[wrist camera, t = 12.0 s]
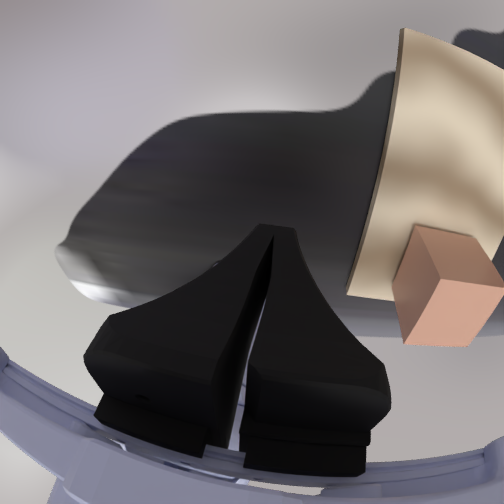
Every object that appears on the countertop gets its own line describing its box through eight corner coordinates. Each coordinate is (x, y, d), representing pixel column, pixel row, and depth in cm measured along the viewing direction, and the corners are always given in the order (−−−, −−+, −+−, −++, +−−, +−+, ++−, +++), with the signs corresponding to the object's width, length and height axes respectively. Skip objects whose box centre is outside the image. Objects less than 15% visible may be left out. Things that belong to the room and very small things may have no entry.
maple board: (460, 301, 22) (464, 308, 22) (346, 286, 24) (346, 294, 23) (536, 93, 11) (544, 95, 10) (399, 29, 12) (404, 27, 11)
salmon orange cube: (448, 294, 21) (467, 346, 16) (391, 287, 21) (403, 344, 17) (476, 238, 17) (507, 288, 13) (415, 225, 18) (440, 278, 13)
